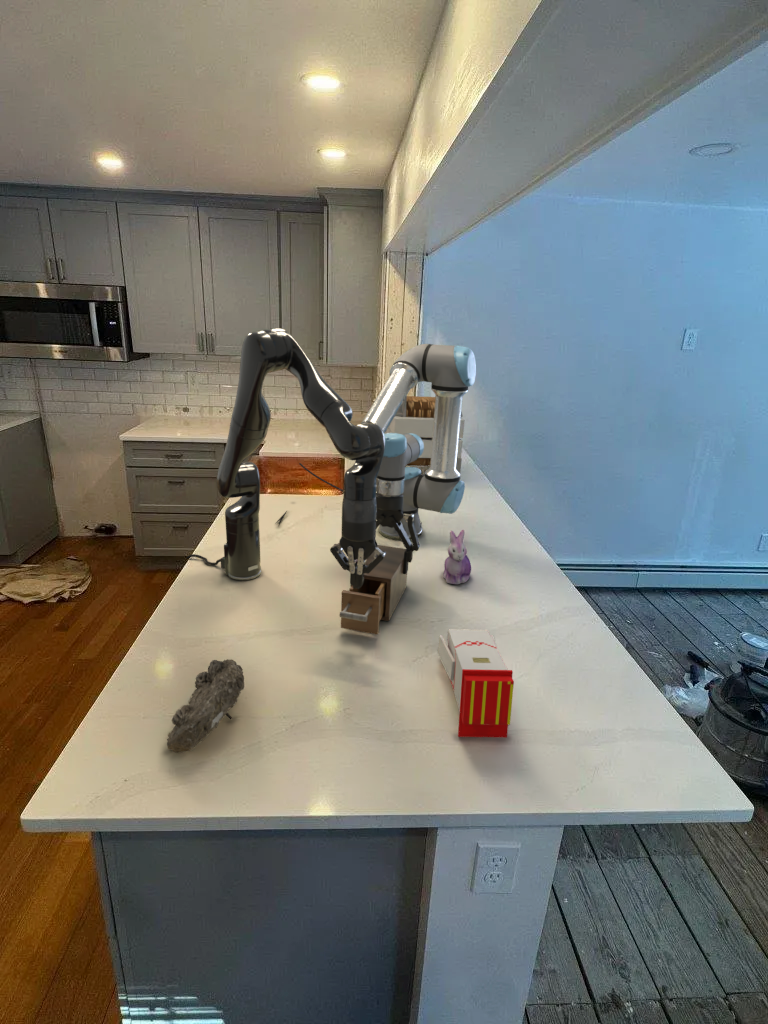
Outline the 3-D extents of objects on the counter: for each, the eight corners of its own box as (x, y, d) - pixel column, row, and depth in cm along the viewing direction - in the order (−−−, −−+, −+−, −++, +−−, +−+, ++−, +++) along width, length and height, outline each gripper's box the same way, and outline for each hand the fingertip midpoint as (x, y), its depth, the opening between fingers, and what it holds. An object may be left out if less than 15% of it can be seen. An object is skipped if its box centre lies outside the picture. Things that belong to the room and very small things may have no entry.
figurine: (453, 588, 162) (457, 540, 157) (434, 573, 170) (437, 527, 165) (479, 582, 166) (485, 535, 161) (459, 568, 175) (464, 523, 170)
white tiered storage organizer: (382, 463, 289) (386, 382, 275) (445, 464, 293) (451, 384, 279) (390, 482, 257) (394, 392, 243) (460, 483, 261) (468, 394, 247)
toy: (488, 613, 130) (523, 677, 101) (484, 667, 133) (517, 744, 104) (435, 612, 130) (455, 676, 101) (432, 666, 133) (451, 743, 103)
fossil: (192, 660, 117) (244, 628, 112) (224, 691, 120) (276, 661, 115) (142, 746, 98) (202, 712, 93) (182, 779, 101) (242, 748, 96)
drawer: (370, 647, 130) (372, 609, 127) (332, 639, 132) (333, 602, 129) (396, 599, 152) (398, 566, 149) (363, 594, 155) (364, 561, 151)
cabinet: (388, 621, 144) (391, 579, 140) (349, 614, 146) (350, 572, 142) (406, 587, 162) (408, 549, 158) (371, 581, 164) (372, 544, 160)
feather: (294, 505, 227) (296, 501, 226) (277, 528, 200) (280, 524, 199) (290, 503, 226) (292, 499, 226) (273, 526, 200) (276, 521, 199)
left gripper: (324, 517, 121) (323, 589, 127) (384, 525, 118) (380, 599, 124) (336, 506, 128) (335, 575, 134) (392, 514, 125) (389, 584, 131)
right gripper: (343, 491, 148) (341, 568, 156) (429, 502, 143) (424, 581, 151) (352, 484, 155) (350, 557, 163) (435, 494, 150) (429, 569, 157)
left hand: (357, 587), depth 129 cm, fingers closed
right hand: (385, 569), depth 157 cm, fingers closed on cabinet, 10 cm apart
